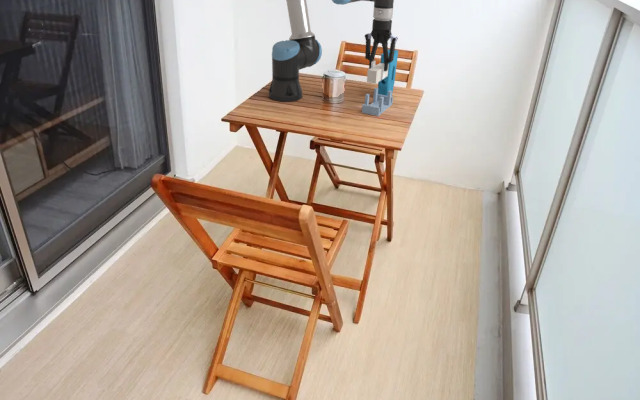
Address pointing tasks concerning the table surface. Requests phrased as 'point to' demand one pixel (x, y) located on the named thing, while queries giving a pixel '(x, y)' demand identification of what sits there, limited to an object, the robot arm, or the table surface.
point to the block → (390, 79)
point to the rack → (377, 103)
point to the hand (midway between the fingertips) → (377, 77)
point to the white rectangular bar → (375, 73)
